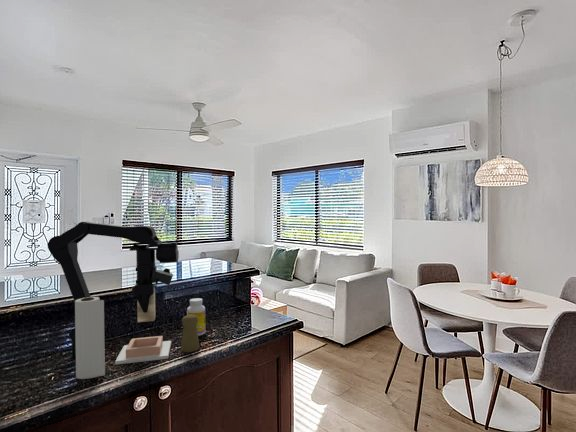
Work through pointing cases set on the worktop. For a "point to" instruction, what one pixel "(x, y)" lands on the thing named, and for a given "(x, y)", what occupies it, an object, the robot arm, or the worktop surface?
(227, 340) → the worktop surface
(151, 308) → the maple block
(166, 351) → the pocket plate
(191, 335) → the olive pepper mill
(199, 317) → the supplement bottle
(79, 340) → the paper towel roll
